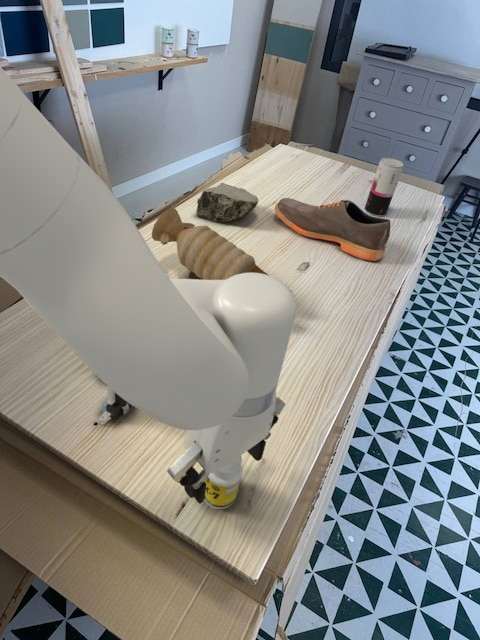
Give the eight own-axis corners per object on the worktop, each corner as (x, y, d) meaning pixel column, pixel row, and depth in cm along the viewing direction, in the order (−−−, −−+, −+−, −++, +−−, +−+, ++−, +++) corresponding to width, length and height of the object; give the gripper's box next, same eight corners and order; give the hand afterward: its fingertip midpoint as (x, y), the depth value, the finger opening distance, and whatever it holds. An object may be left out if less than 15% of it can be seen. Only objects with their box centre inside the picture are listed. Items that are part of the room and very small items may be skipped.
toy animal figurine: (279, 319, 99) (173, 243, 106) (301, 277, 91) (184, 197, 97) (255, 343, 92) (143, 260, 99) (276, 300, 84) (152, 213, 91)
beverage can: (362, 212, 136) (378, 162, 127) (366, 204, 141) (382, 155, 131) (384, 219, 135) (402, 169, 125) (387, 210, 140) (405, 161, 130)
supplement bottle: (194, 488, 63) (199, 452, 58) (222, 471, 66) (229, 435, 60) (215, 516, 60) (221, 482, 55) (243, 498, 63) (252, 463, 58)
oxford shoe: (283, 208, 131) (291, 169, 124) (389, 248, 122) (404, 209, 114) (265, 222, 124) (272, 182, 116) (376, 267, 114) (391, 225, 106)
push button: (114, 434, 68) (111, 388, 62) (87, 417, 70) (81, 371, 63) (143, 405, 73) (143, 360, 66) (117, 389, 74) (114, 344, 68)
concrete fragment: (209, 187, 130) (256, 168, 123) (221, 223, 132) (268, 207, 125) (183, 193, 117) (234, 172, 110) (197, 233, 120) (248, 215, 112)
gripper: (273, 332, 56) (253, 420, 67) (150, 397, 46) (150, 488, 57) (320, 370, 52) (290, 457, 63) (197, 450, 42) (187, 537, 53)
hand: (224, 472), depth 60 cm, fingers open, 9 cm apart
